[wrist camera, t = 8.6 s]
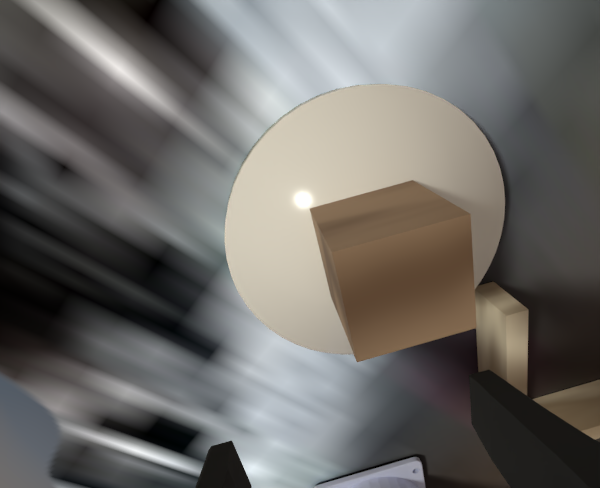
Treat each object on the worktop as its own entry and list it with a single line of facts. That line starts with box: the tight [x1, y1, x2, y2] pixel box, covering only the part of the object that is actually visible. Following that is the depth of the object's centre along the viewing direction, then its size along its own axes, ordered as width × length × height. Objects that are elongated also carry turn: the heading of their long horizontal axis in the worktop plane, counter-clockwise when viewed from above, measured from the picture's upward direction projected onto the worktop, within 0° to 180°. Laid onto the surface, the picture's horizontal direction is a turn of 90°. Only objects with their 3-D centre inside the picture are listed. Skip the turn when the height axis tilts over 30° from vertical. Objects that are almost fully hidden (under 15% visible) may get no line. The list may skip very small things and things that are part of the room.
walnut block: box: [310, 180, 477, 362], centre depth 16 cm, size 5×5×5 cm
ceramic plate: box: [225, 84, 505, 354], centre depth 19 cm, size 14×14×1 cm
